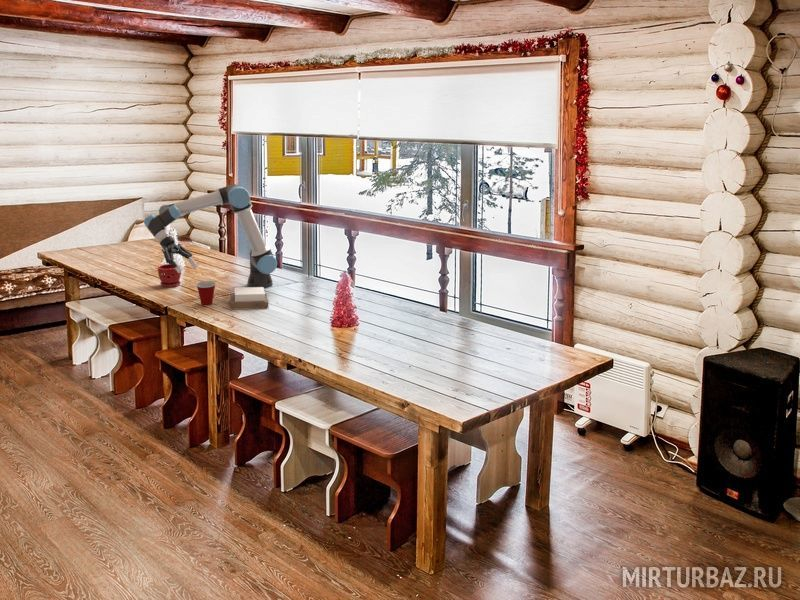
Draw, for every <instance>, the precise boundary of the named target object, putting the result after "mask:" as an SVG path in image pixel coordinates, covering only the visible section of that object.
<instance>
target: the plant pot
mask: <svg viewBox="0 0 800 600" xmlns="http://www.w3.org/2000/svg"><path fill="white" fill-rule="evenodd" d="M178 265H179V266H180V268H181V269H182V267H181V265H180V264H178ZM157 273H158V278H159V280H160V284H159V285H161V287H164V288H176V287H178V286H180V285H181V281H180V279H181V274H182V271H181V272H180V273H178V272H177V270H176V269H175V268H174V267H173V266H172V265H171V264H170V265H169V264H168V263H166V264H162V265H158V267H157ZM175 286H176V287H175Z"/></svg>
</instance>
